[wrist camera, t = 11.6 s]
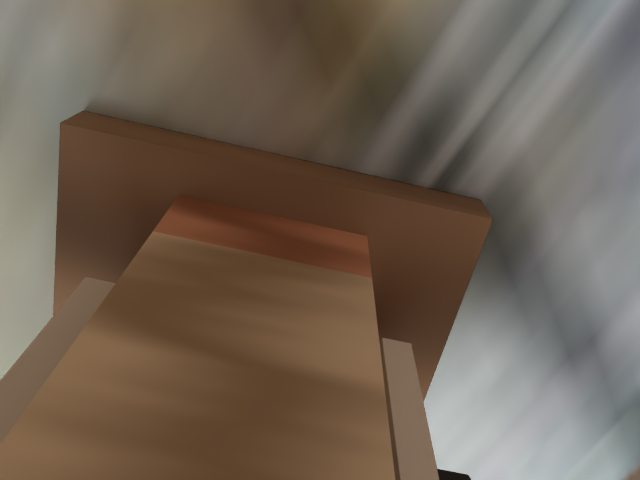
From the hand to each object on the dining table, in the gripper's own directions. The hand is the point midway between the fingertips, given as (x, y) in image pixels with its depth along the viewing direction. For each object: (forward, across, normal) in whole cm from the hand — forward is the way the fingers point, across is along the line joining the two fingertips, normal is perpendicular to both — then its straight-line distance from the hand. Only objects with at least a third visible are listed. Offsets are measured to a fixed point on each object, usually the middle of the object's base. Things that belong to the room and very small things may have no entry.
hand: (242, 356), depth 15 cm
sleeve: (+3, 0, 0) cm, 3 cm away
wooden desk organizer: (+4, 0, -6) cm, 7 cm away
